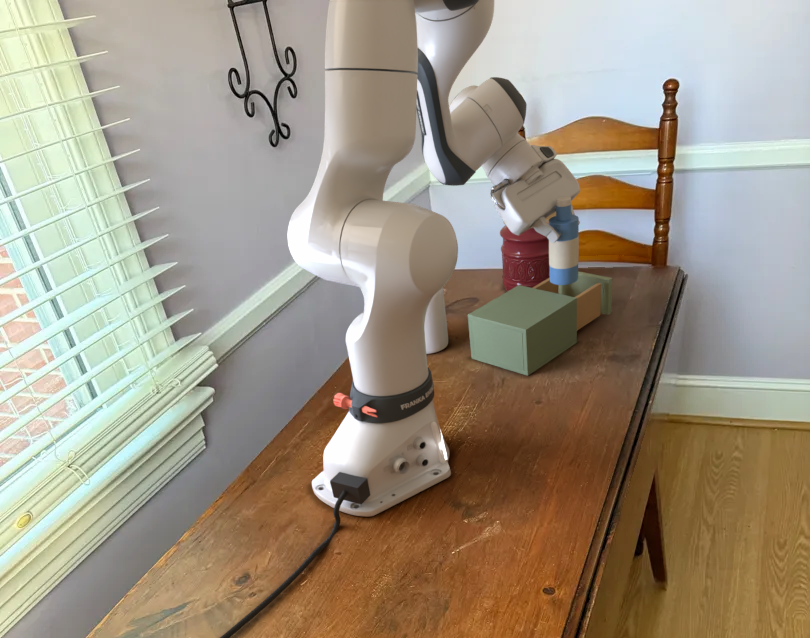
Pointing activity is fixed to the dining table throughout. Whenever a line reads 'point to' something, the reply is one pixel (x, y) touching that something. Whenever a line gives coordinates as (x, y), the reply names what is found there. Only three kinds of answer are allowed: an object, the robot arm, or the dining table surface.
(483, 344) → the cabinet
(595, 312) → the drawer
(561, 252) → the bottle
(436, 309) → the pill bottle
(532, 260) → the kitchen canister
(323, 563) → the dining table surface
